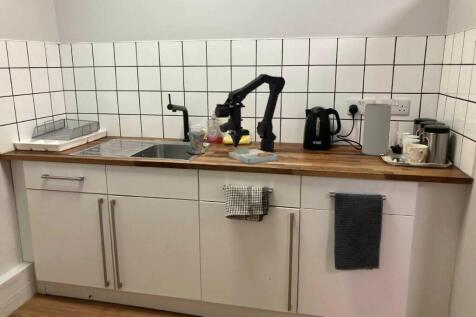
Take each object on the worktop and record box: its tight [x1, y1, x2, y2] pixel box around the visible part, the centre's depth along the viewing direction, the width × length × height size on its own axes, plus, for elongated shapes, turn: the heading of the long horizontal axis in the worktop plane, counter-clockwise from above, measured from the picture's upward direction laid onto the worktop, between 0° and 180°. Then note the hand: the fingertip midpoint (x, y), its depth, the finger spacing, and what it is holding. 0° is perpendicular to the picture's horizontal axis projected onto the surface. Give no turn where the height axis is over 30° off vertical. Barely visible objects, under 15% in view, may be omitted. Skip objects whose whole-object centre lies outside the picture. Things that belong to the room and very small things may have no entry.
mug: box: [187, 131, 206, 155], centre depth 206 cm, size 12×9×11 cm
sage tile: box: [234, 146, 250, 155], centre depth 198 cm, size 5×5×2 cm
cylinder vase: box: [361, 103, 393, 157], centre depth 203 cm, size 12×12×25 cm
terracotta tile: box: [258, 152, 273, 157], centre depth 194 cm, size 5×5×2 cm
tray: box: [238, 152, 279, 165], centre depth 191 cm, size 16×9×2 cm, turn 118°
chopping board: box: [228, 148, 264, 161], centre depth 200 cm, size 16×11×2 cm
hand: (235, 147), depth 204 cm, fingers closed
